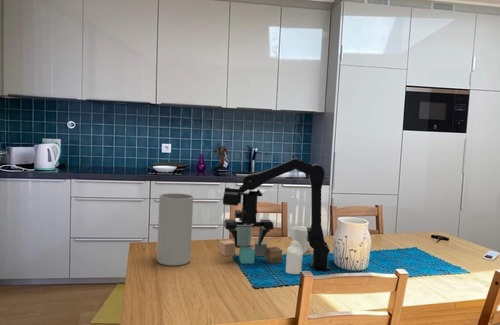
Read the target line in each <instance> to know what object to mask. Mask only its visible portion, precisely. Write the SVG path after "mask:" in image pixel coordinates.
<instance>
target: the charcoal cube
mask: <svg viewBox="0 0 500 325" xmlns="http://www.w3.org/2000/svg"><path fill="white" fill-rule="evenodd" d="M266 247H268V241H265V240H262V242H261V245H260V246H258V240H254V251H255V256H257V257H258V256H259V257H265V249H266ZM255 256H254V257H255Z"/></svg>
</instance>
